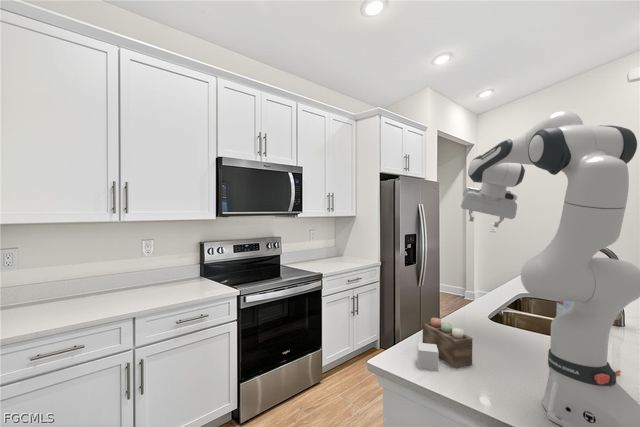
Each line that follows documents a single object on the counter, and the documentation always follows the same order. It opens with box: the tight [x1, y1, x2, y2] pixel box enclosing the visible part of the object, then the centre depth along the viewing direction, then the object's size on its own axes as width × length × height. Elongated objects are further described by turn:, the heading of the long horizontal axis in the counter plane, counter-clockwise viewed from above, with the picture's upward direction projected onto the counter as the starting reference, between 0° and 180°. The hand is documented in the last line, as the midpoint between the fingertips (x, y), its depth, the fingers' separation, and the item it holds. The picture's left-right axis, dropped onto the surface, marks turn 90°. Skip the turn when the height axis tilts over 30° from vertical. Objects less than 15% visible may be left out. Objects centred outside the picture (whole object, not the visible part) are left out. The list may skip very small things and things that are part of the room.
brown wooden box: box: [422, 322, 473, 370], centre depth 110 cm, size 16×7×9 cm, turn 20°
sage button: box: [441, 322, 453, 333], centre depth 109 cm, size 3×3×2 cm
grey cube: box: [416, 342, 439, 372], centre depth 103 cm, size 6×6×6 cm
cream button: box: [452, 327, 464, 339], centre depth 105 cm, size 3×3×2 cm
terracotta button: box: [430, 317, 442, 328], centre depth 114 cm, size 3×3×2 cm
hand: (483, 224), depth 132 cm, fingers open, 8 cm apart
